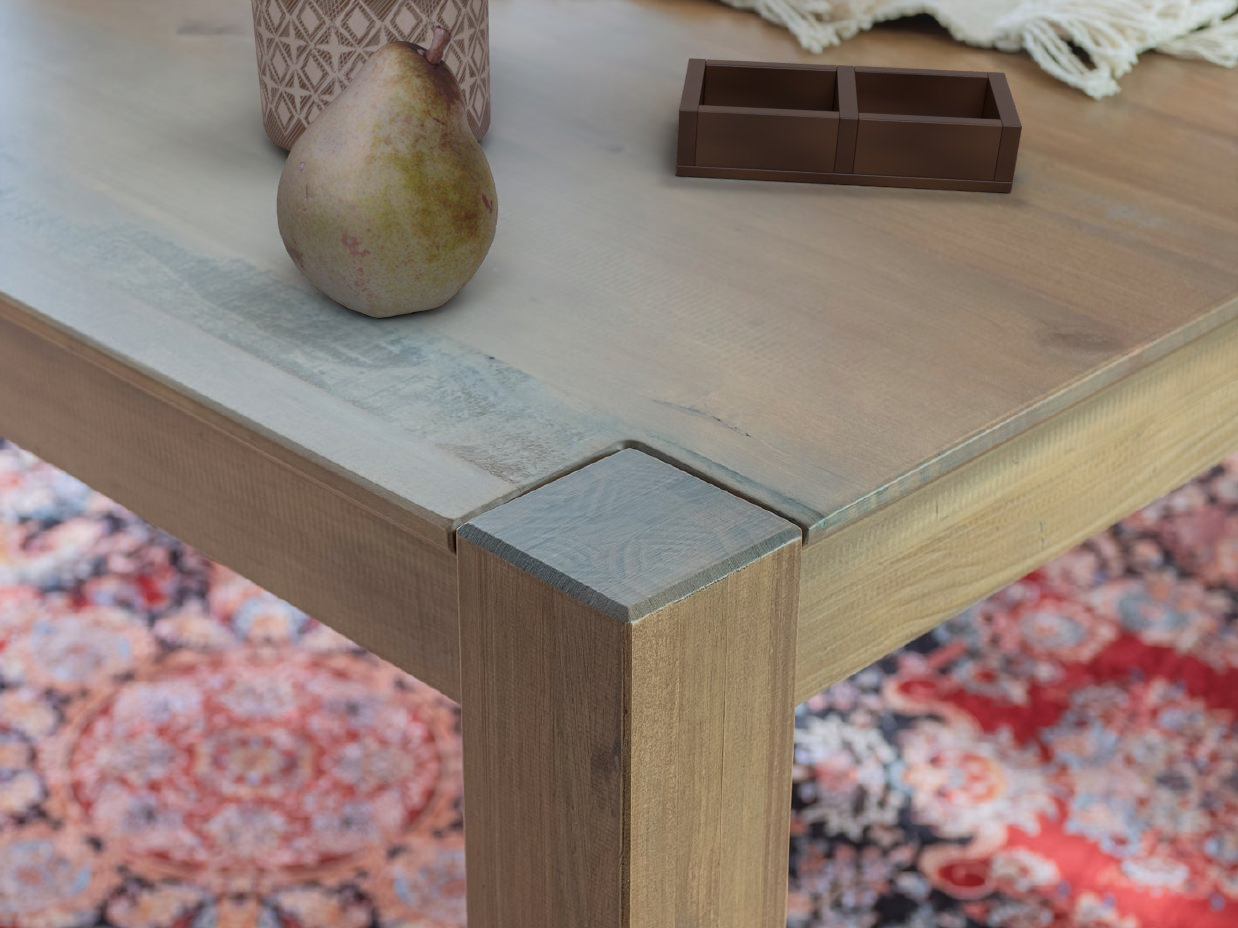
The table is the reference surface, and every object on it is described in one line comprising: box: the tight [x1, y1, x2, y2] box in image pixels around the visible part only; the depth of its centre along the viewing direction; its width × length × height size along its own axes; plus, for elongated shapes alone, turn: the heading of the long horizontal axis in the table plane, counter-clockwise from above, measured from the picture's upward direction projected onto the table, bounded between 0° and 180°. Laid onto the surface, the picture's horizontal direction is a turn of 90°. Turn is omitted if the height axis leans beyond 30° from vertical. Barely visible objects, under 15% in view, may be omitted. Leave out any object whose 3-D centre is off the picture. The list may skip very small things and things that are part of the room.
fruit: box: [276, 25, 499, 319], centre depth 73 cm, size 10×9×12 cm
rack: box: [675, 57, 1023, 194], centre depth 92 cm, size 18×10×4 cm, turn 84°
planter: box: [250, 0, 491, 152], centre depth 91 cm, size 13×13×10 cm
